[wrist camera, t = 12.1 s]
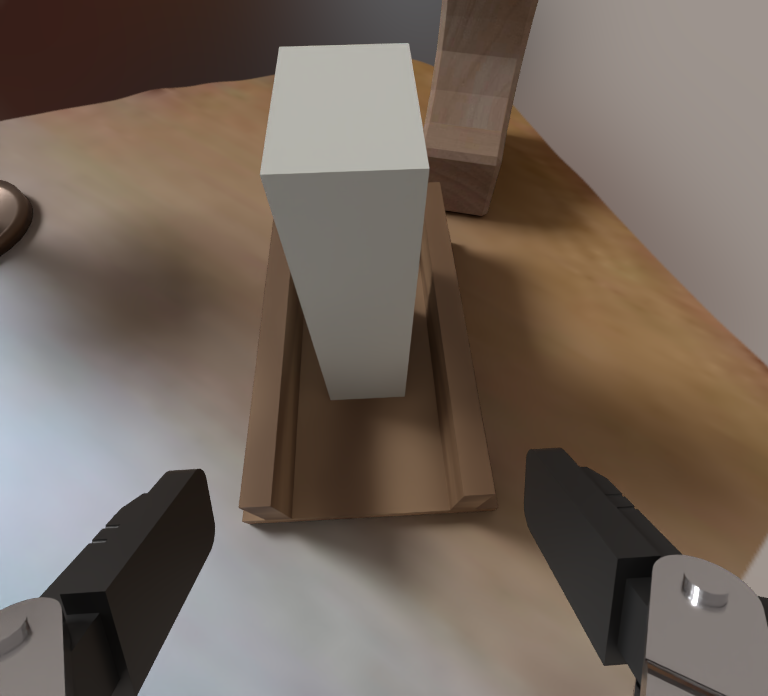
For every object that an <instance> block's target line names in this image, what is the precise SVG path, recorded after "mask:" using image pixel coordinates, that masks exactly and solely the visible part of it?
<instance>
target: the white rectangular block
mask: <svg viewBox="0 0 768 696" xmlns="http://www.w3.org/2000/svg"><path fill="white" fill-rule="evenodd" d="M260 177H261V180H262V183H263V186H264V189H265V192H266V196H267V199H268V202H269V205H270V208H271V212H272V215H273V218H274V221H275V224H276V228H277V231H278V234H279V237H280V240H281V243H282V247H283V250H284V253H285V256H286V259H287V263H288V266H289V269H290V272H291V275H292V278H293V282H294V285H295V288H296V291H297V294H298V298H299V301H300V304H301V307H302V310H303V314H304V317H305V320H306V323H307V326H308V329H309V333H310V336H311V339H312V342H313V345H314V349H315V352H316V355H317V358H318V361H319V365H320V368H321V371H322V374H323V377H324V380H325V384H326V387H327V390H328V393H329V396H330V400H345V399H365V398H386V397H405V389H406V380H407V371H408V362H409V352H410V343H411V334H412V325H413V316H414V306H415V297H416V288H417V279H418V269H419V260H420V251H421V242H422V232H423V223H424V214H425V205H426V195H427V186H428V177H429V163H428V157H427V151H426V145H425V139H424V133H423V127H422V121H421V115H420V109H419V103H418V97H417V90H416V84H415V78H414V72H413V66H412V60H411V54H410V48H409V43H397V44H365V45H332V46H330V45H329V46H300V47H299V46H296V47H279V53H278V60H277V66H276V73H275V79H274V86H273V92H272V99H271V105H270V112H269V119H268V125H267V132H266V138H265V145H264V151H263V158H262V164H261V171H260Z"/></svg>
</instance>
